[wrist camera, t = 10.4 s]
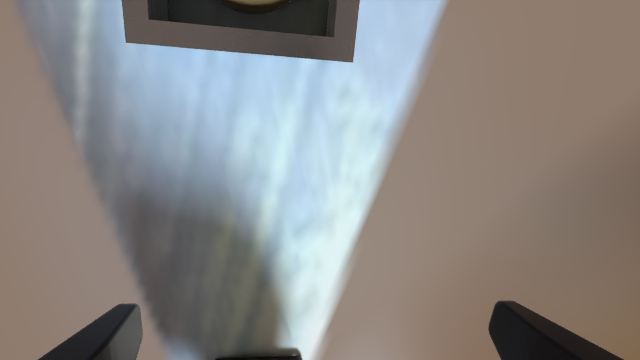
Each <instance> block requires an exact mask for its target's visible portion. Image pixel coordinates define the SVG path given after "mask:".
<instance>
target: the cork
mask: <svg viewBox="0 0 640 360" xmlns="http://www.w3.org/2000/svg"><path fill="white" fill-rule="evenodd" d="M218 1H220V2H222V3H223V4H225V5H227V6H229V7H230V8H232V9H234V10H237V11H242V12H246V13H251V14H257V13H265V12H272V11H274V10H276V9H278V8H279V7H281V6H283V5H285V4H287V3H289V1H290V0H218Z"/></svg>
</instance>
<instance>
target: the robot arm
mask: <svg viewBox="0 0 640 360" xmlns="http://www.w3.org/2000/svg"><path fill="white" fill-rule="evenodd" d="M489 334H490V337H491V339H492V341H493V343H494V345H495V347H496V349H497V352H498V354H499V356H500V358H501V360H623V359H622V358H620V357H618V356H616V355H614V354H612V353H610V352H608V351H606V350H604V349H603V348H601V347H599V346H597V345H595V344H593V343H591V342H589V341H588V340H586V339H584V338H582V337H580V336H578V335H576V334H575V333H573V332H571V331H569V330H567V329H565V328H563V327H561V326H559V325H558V324H556V323H554V322H552V321H550V320H548V319H546V318H545V317H543V316H541V315H539V314H537V313H535V312H533V311H531V310H529V309H527V308H526V307H524V306H522V305H520V304H518V303H516V302H514V301H498V302H497V303H496V304H495V306H494V309H493V312H492V315H491V319H490V322H489ZM141 341H142V323H141V313H140V307H139V305H137V304H119V305H117V306H115V307H114V308H112V309H111V310H109V311H108V312H106V313H105V314H103V315H102V316H101V317H99V318H98V319H96V320H95V321H93V322H92V323H90V324H89V325H87V326H86V327H85V328H83V329H82V330H80V331H79V332H77V333H76V334H74V335H73V336H72V337H70V338H68V339H67V340H66V341H64V342H63V343H61V344H60V345H58V346H57V347H55V348H54V349H53V350H51V351H50V352H48V353H47V354H45V355H44V356H42V357H41V358H39V359H38V360H136V357H137V354H138V351H139V347H140V344H141ZM216 360H302V358H301V357H298V356H288V357H254V358H221V359H216Z"/></svg>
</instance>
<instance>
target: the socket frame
mask: <svg viewBox="0 0 640 360" xmlns="http://www.w3.org/2000/svg"><path fill="white" fill-rule="evenodd" d="M359 1H360V0H329V2H328V14H327V27H326V37H324V36H314V35H303V34H293V33H283V32H272V31H262V30H252V29H241V28H231V27H221V26H210V25H200V24H190V23H179V22H169V16H168V0H122V7H123V18H124V28H125V39H126V43H137V44H149V45H160V46H171V47H183V48H194V49H206V50H217V51H228V52H240V53H251V54H263V55H274V56H286V57H297V58H308V59H320V60H331V61H343V62H353V56H354V47H355V38H356V29H357V20H358V10H359Z"/></svg>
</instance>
